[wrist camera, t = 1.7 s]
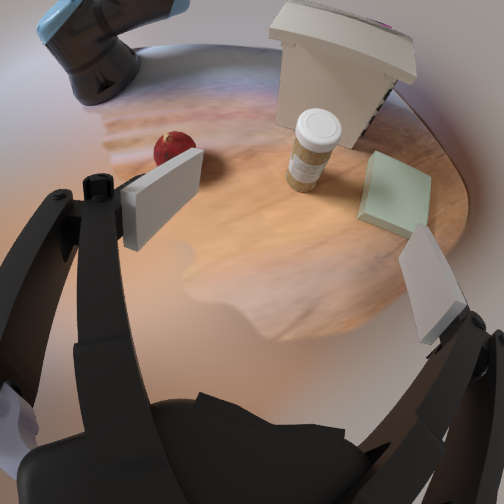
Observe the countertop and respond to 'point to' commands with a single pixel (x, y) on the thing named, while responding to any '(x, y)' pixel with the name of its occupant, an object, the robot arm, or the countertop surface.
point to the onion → (172, 146)
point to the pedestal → (394, 195)
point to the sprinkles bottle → (312, 147)
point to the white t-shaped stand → (337, 64)
